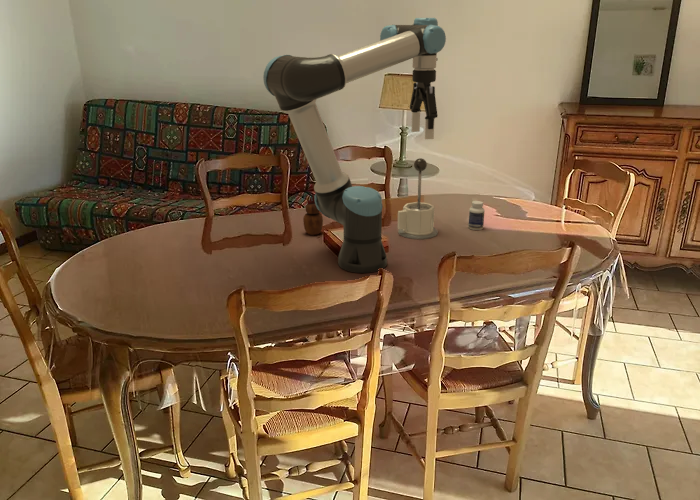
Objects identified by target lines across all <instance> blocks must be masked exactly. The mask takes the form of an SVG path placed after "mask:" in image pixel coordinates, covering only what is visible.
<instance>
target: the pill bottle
mask: <svg viewBox="0 0 700 500" xmlns="http://www.w3.org/2000/svg"><path fill="white" fill-rule="evenodd" d="M484 220H485V208H484V202H483V201H481V200H472V202H471V206H470V207H469V211H468V222H467V223H468V224H467V225H468V226H467V228H468V229H470V230H473V231H481V230H483V229H484Z"/></svg>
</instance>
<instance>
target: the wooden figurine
mask: <svg viewBox="0 0 700 500" xmlns="http://www.w3.org/2000/svg"><path fill="white" fill-rule="evenodd" d="M314 196H315V195H314V193H313V194H312V197H310V198H309V199H307V203H306V205H305V212H306V213H305V214H304V215H303V227H304V231H305V232H306V234H307V235H311V236H315V235H319V234H321V232H322V229H323V224H324V221H323V220H324V218H323V214H322V213H321V212H320V211H319V210H318V209H317V207H316V204H315V200H314Z"/></svg>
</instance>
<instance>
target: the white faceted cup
mask: <svg viewBox="0 0 700 500" xmlns="http://www.w3.org/2000/svg"><path fill="white" fill-rule="evenodd" d="M417 203H418V201H415V202H408V203H405V204H404V206H403V207H402V210H397V231H398V232H397V233H398V234H399V235H400V236H401V237H404V238H406V239H411V240H412V239H414V240H427V239H428V240H429V239H432V238H435V237H436V236H438V232H439V231H438V229H437V228H435V227H434V225H435V224H434V222H435V205H433V204H430V203H429V202H421V201H420V205H422V206H427V207H428V208H429V209H428V210H421V211H419V210H410V209H409V207H410V206H414V205H417Z"/></svg>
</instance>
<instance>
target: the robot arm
mask: <svg viewBox="0 0 700 500" xmlns="http://www.w3.org/2000/svg"><path fill="white" fill-rule="evenodd" d="M380 31H381V32H380V35H379V37H380V39H379V41H376V42H373V43H370V44H367V45H364V46H362V47H358V48H356V49H352V50H350V51H348V52H347V51H346V52H344V53H342V54H339V55H335V54H333V53H330V54H327V55H324V56H320V57H319V56H317V57H316V56H315V57H306V56H296V55H295V56H293V55H290V54H283V55H277V56H276V57H273V58H272V59H271V60H270V61H268V62H267V64H266V66H265V68H264V71H263V84H264V87H265V89H266V90H267V92H268V93H269V94H270V95H272V96H274V97H275V99H276V102H277V104H278V107H279V109H280V111H282V112H284V113H286V114H288V118H289V119H290V122H291V124H292V126H293V129H294V131H295V134H296V136H297V138H298V141H299V143H300V145H301V148H302V151H303V153H304V156H305V159H306V161H307V163H308V165H309V168H310V170H311V172H312V175H313V178H314V180H315V184H314V186H313V190H314V193H315V195H314V200H315V204H316V207H317V209H318V210H319V213H320V214H321V215H322V216H325V217H326V218H328V219H331V220H333V221H335V222H337V223H339V224H340V225H342V226H343V241H342V244H341V247H340V250H339V253H338V258H337V259H338V260H337V262H338V263H337V264H338V266H339V268H341V269H342V270H344V271H347V272H350V273H357V274H358V273H359V274H364V273H365V274H367V273H368V274H369V273H374V272H378V269H379V268H383V269H384V268H385V267H387V264H388V256H387V252H386V251H385V247H384V244H383V241H382V225H383V224H382V221H383V220H382V219H383V208H384V207H383V200H382V195H381V193H380V192H379V191H377V190H376V189H374V188H373V187H369V186H367V187H365V186H362V185H355V186H353V184H352V182H351V179H350V176H349V174H348V173H347V172H343V171H342V169H341V166H340V164H339V161H338V159H337V155H336V154H335V151H334V148H333V146H332V143H331V140H330V138H329V135H328V132H327V130H326V127H325V124H324V122H323V120H322V116H321V113H320V111H319V108H318V107H317V104H316V102H317V100H318V99H320V98H323V97H326V96H328V95H330V94H333V93H335V92H338V91H341V90H344V88H345V87H346V84H349V83H351V82H354V81H356V80H358V79H362V78H364V77H367V76H369V75H372V74H374V73H376V72H380V71H383V70H385V69H387V68H391V67H393V66H396V65H398V64H401V63H403V62H406V61H408V60H409V61H410V60H412V68H413V70H412V79H411V80H412V82H413V85H412V93H411V97H410V104H409V110H410V111H411V131H410V132H412V133H415V132H417V133H418V132H420V129H421V128H420V127H421V126H420V125H421V124H420V123H421V112H422V110H421V106H422V105H423V106H424V111H425V115H426V116H425V117H424V119H425V124H424V125H425V127H424V139H425V140H433V139H434V138H435V137H434V135H435V130H434V129H435V119H436V118H438V109H437V102H436V86H431V85H432V84H431V83H434V82H436V80H437V79H436V78H437V71H436V68H437V61H438V57H437V54H438V53H440V52H441V51H442V50H444V49H443V48H444V47H445V45H446V42H447V41H446V40H447V38H446V33H445V30H444V29H443V27H441V26H439V21H438V19H437V18H435V17H415V18H414V19H413V24H391V25H390V24H389V25H386V26H384V27H383V28H382V29H381V30H380Z"/></svg>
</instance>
